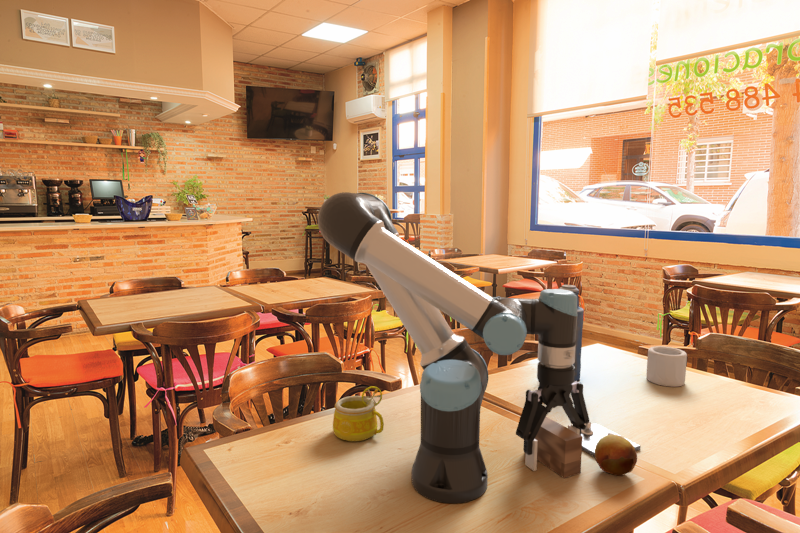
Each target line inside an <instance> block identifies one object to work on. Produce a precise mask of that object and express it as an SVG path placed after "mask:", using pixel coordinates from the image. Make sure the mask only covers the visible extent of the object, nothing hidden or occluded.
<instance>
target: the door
mask: <svg viewBox="0 0 800 533" xmlns="http://www.w3.org/2000/svg"><path fill="white" fill-rule="evenodd" d="M529 433H531V432H529ZM535 439H536V440H538V444H537V462H540V464H542V465H544V466H545V467H547V468H548V469H550V470H551V471H553V472H555V473H556V474H557V475H559V476H560V477H561V478H563V479H567V478H569V477H573V476H575V475H579V474H581V471H582V470H581V469H582V453H583V450H582V436H581V435H579V434H577V433H575V432H573V431H572V430H570V429H568V427H566V426H564V425H562V424H560V423H559V422H557V421H555V420H553V419H552V418H549V417H548V416H546V417H545V419H544V421H543V423H542V425H541V427H540V429H539V431H538V433H537V435H536V437H535Z"/></svg>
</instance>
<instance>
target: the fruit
mask: <svg viewBox="0 0 800 533" xmlns="http://www.w3.org/2000/svg"><path fill="white" fill-rule="evenodd" d="M619 435H620V434H619ZM619 435H607V436H604V437H603V438H601V439H600V440H599V441H598V443H597V445H596V448H595V457H594V458H595V461H596V463H597V465H598V466H599V469H601V471H603V472H605V473H608V474H611V475H614V476H617V477H621V476H622V477H623V476H624V475H626V474H629V473H631V472H632V471H633V470H634V468H635V466H636V464H637V462H638V455H637V451H635V448H634V446H633V445H632V444H631V443H630V442H629V441H628V440H627V439H628V438H627V439H625V438H626V437H625V438H623V437H624V436H623V437H622V435H621V436H619Z"/></svg>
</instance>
